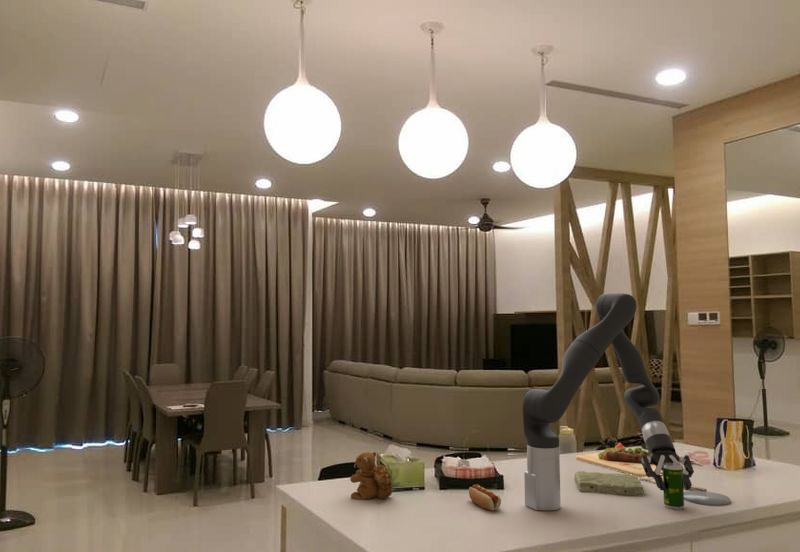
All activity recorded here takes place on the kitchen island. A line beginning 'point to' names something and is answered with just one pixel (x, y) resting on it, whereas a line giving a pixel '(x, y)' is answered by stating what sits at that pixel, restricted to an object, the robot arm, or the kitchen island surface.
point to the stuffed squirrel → (371, 478)
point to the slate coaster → (706, 498)
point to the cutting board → (620, 460)
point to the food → (484, 498)
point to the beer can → (673, 485)
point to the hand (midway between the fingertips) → (675, 488)
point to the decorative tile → (608, 483)
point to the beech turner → (693, 488)
